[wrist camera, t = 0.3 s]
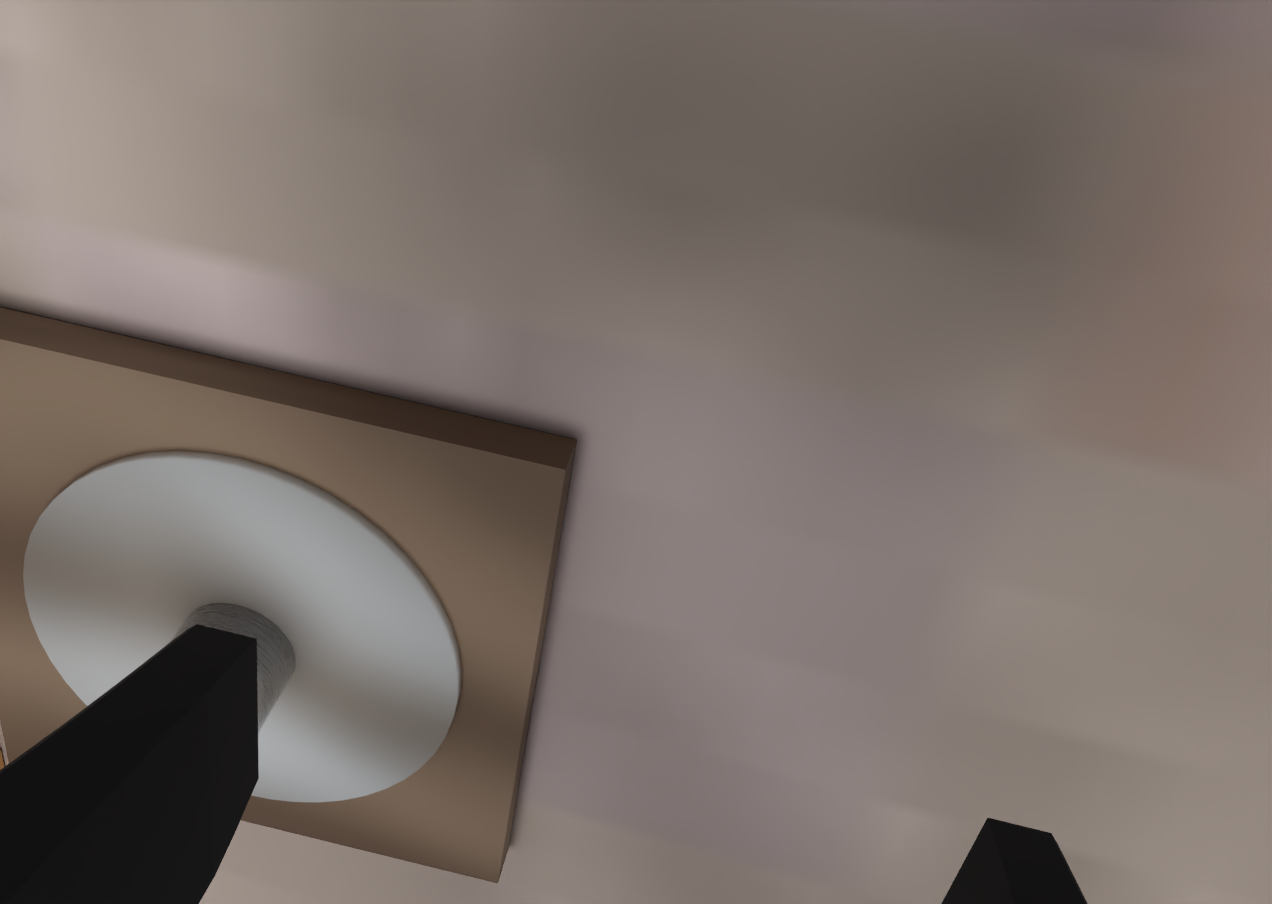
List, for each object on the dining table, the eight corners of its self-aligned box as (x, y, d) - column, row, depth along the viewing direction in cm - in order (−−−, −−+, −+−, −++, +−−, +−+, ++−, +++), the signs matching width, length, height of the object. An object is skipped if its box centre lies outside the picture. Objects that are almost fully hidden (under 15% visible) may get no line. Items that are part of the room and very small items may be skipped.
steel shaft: (301, 692, 24) (188, 893, 20) (192, 666, 24) (58, 861, 20) (301, 609, 23) (180, 805, 19) (187, 581, 23) (41, 771, 19)
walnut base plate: (508, 848, 28) (494, 894, 27) (34, 732, 28) (1, 772, 27) (577, 439, 21) (561, 479, 20) (-47, 296, 21) (-94, 327, 20)
